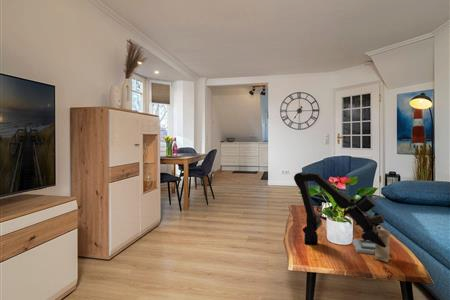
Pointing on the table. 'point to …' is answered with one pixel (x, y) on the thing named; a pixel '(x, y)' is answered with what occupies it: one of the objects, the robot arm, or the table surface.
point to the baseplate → (364, 246)
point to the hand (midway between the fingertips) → (385, 245)
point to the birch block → (380, 251)
